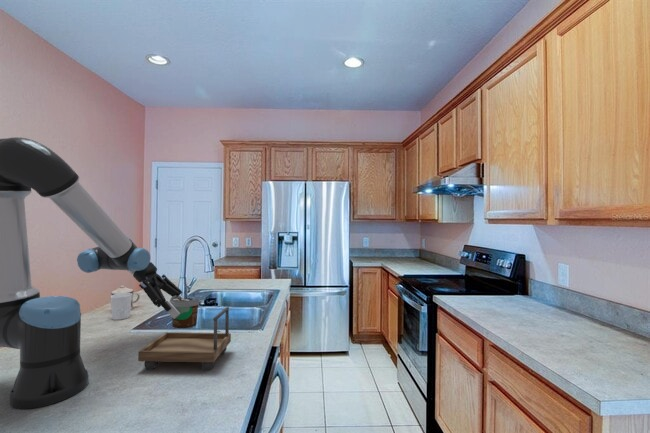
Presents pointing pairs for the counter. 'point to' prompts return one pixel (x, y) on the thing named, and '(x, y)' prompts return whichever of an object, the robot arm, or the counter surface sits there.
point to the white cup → (121, 305)
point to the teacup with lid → (126, 290)
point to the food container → (185, 312)
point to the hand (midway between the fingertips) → (183, 312)
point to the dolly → (188, 346)
